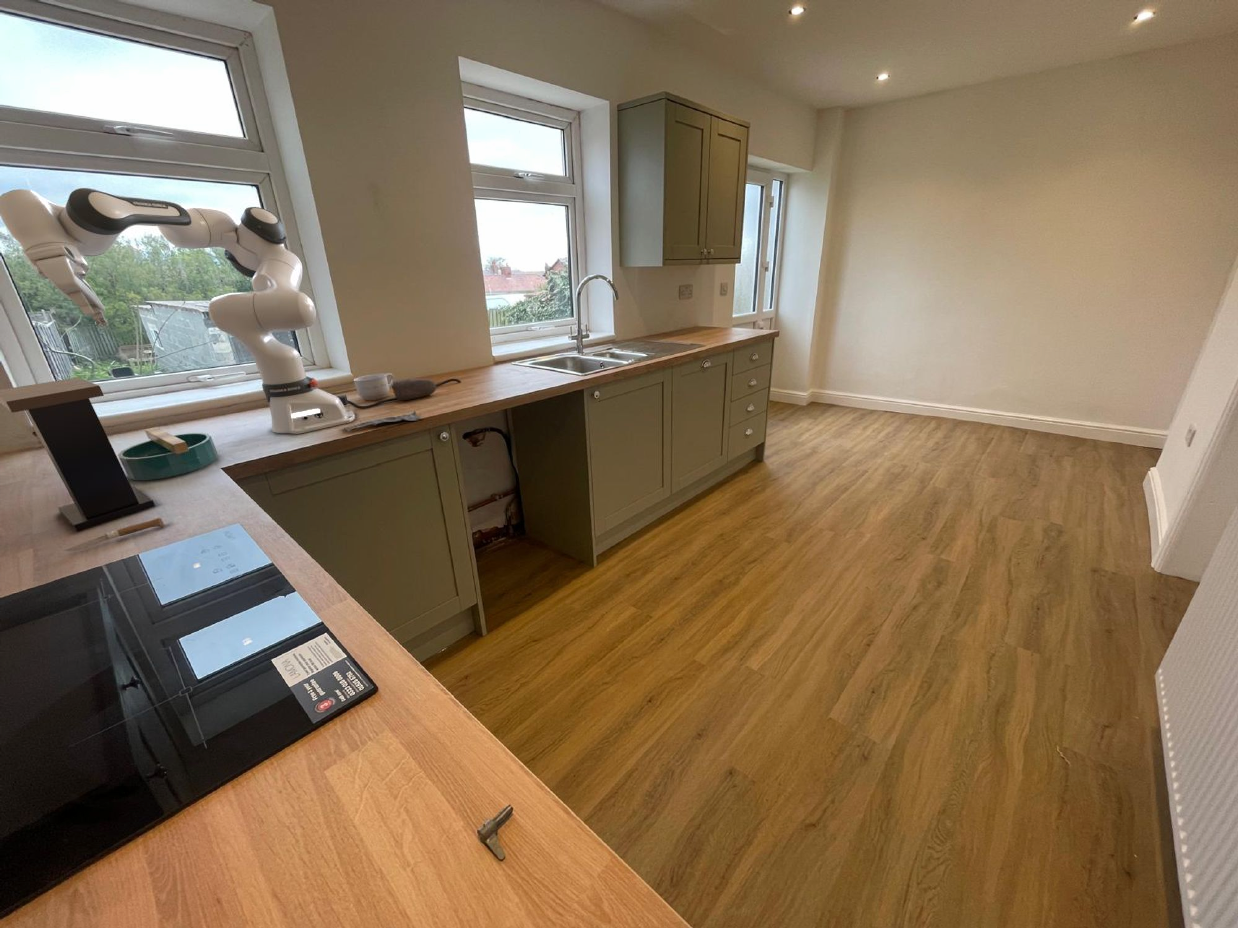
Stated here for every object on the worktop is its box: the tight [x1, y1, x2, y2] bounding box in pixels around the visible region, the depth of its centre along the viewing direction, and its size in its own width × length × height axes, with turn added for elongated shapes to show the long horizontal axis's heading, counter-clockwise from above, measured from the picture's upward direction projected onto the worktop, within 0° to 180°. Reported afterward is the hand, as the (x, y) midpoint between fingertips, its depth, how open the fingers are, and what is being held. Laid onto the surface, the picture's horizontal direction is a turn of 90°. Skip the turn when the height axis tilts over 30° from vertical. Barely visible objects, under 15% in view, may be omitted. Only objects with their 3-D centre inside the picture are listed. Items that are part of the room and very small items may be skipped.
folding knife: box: [63, 517, 165, 552], centre depth 92 cm, size 14×2×2 cm, turn 135°
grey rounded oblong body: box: [391, 378, 437, 401], centre depth 176 cm, size 15×5×7 cm, turn 126°
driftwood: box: [343, 410, 420, 432], centre depth 151 cm, size 21×7×2 cm, turn 121°
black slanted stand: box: [0, 376, 156, 533], centre depth 100 cm, size 16×12×26 cm
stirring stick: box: [144, 426, 189, 454], centre depth 123 cm, size 22×2×2 cm, turn 55°
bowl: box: [117, 432, 219, 481], centre depth 124 cm, size 18×18×6 cm
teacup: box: [353, 372, 396, 401], centre depth 179 cm, size 14×11×8 cm
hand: (97, 320), depth 119 cm, fingers open, 8 cm apart
